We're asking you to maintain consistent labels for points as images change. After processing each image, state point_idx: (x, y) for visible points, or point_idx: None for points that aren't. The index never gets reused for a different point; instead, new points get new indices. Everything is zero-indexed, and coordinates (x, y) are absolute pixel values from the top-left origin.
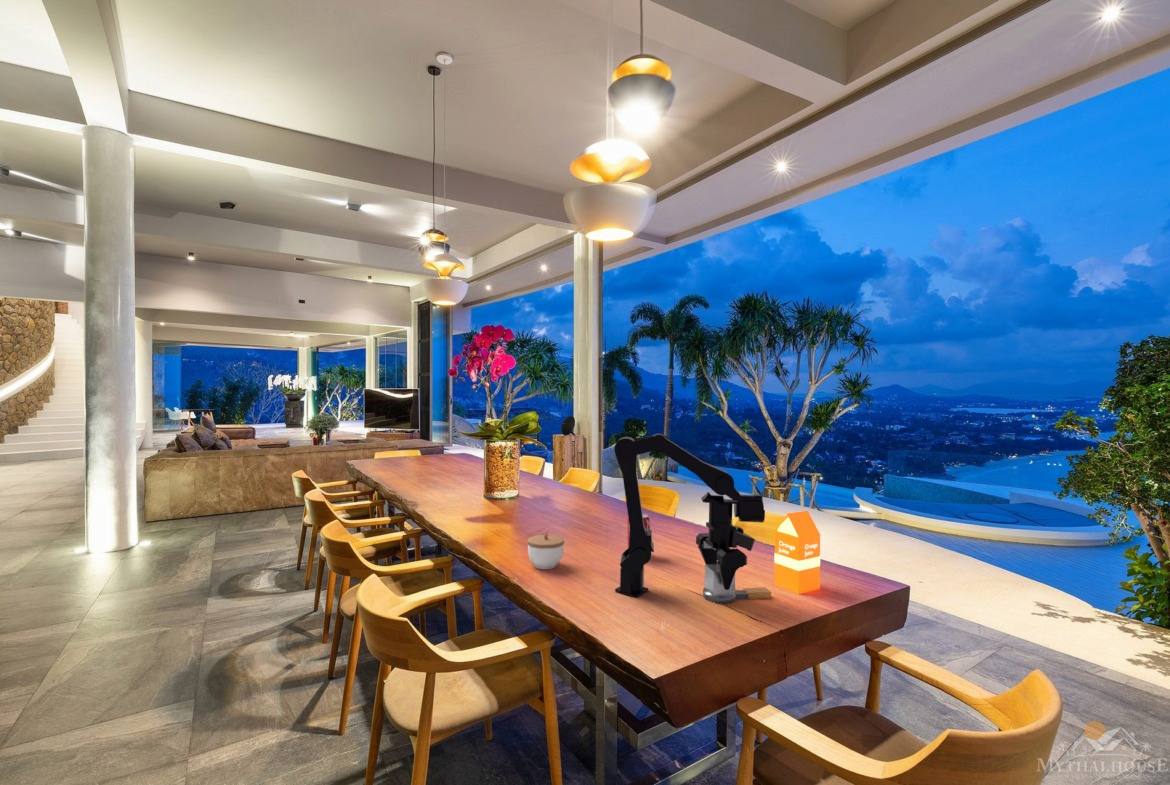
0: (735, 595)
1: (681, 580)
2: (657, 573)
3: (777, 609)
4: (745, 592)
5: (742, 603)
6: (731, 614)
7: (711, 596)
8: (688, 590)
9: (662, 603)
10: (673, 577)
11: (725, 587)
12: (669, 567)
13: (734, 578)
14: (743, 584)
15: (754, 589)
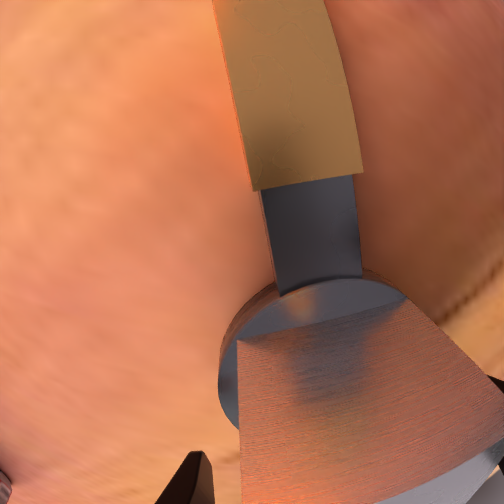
0: (397, 290)
1: (110, 459)
2: (81, 488)
3: (464, 57)
4: (319, 186)
5: (414, 236)
6: (497, 316)
7: None
8: (231, 463)
9: None
10: (91, 469)
11: None
12: (5, 441)
13: (482, 377)
14: (43, 147)
15: (275, 88)
